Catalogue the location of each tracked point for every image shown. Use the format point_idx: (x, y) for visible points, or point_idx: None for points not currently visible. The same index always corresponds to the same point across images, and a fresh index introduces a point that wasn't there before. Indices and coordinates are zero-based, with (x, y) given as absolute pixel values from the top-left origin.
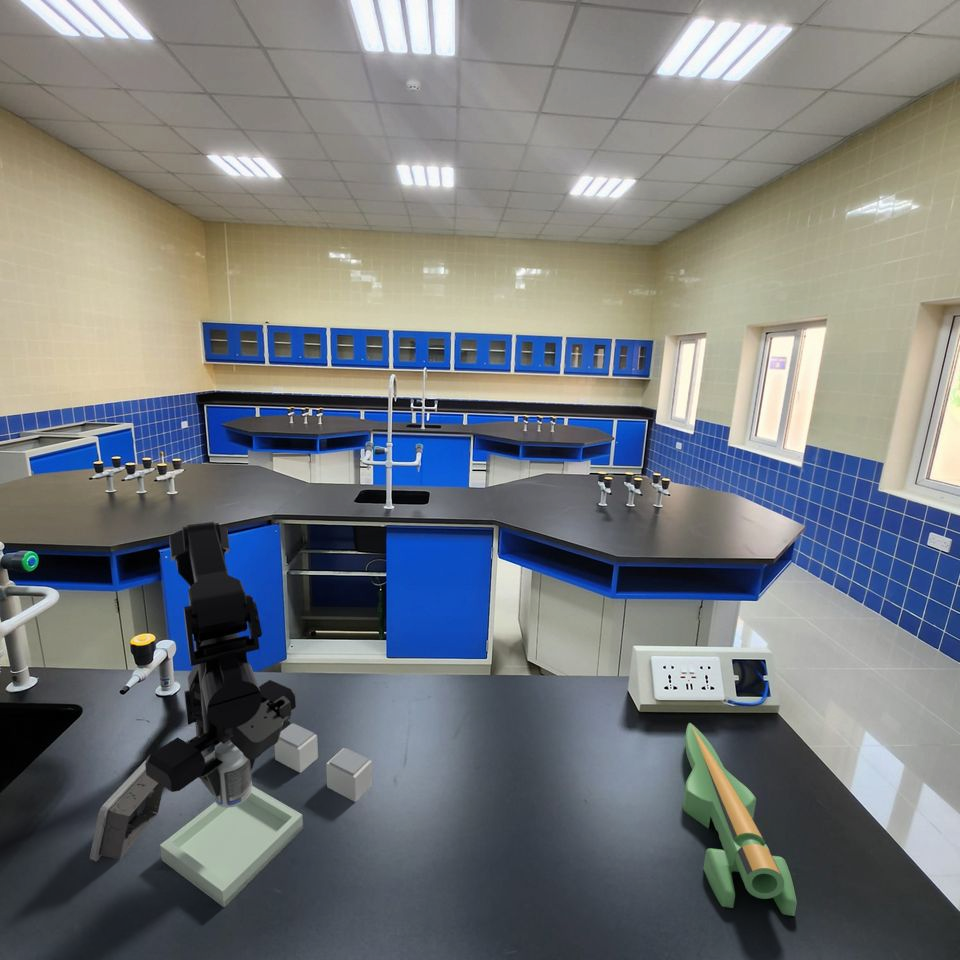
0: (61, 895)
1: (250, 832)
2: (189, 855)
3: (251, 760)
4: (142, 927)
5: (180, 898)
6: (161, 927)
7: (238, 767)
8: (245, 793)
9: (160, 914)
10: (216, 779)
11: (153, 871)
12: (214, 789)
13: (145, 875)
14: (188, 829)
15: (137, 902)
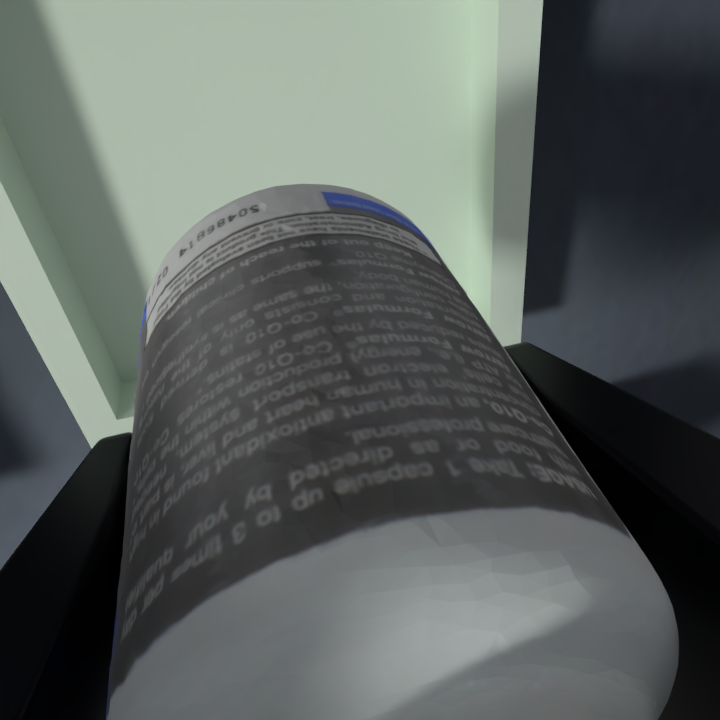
0: (691, 388)
1: (183, 146)
2: (493, 217)
3: (90, 540)
4: (701, 77)
5: (561, 81)
6: (680, 6)
7: (464, 523)
8: (275, 219)
9: (641, 75)
10: (708, 492)
11: (531, 287)
12: (636, 397)
13: (553, 290)
14: None
15: (635, 203)
